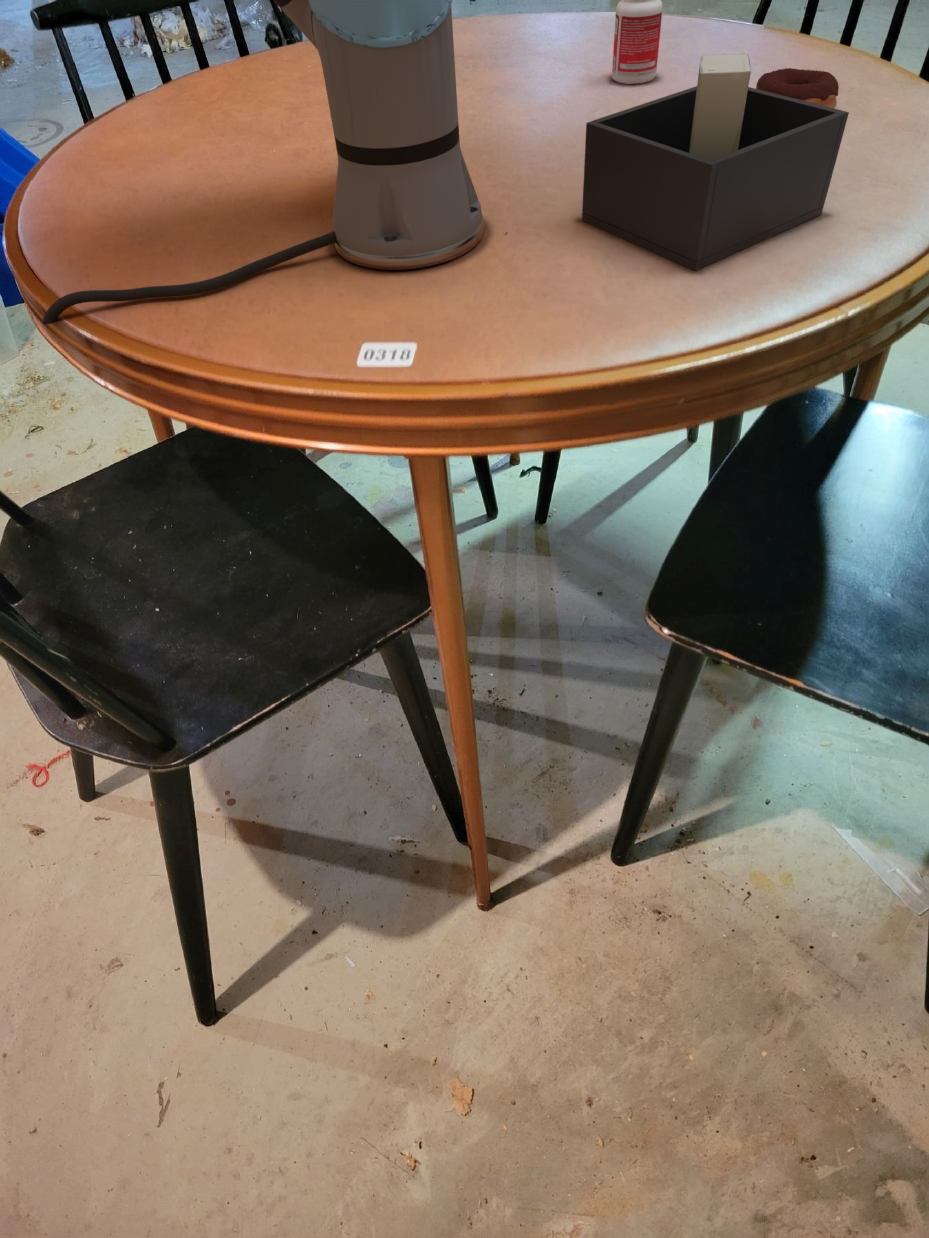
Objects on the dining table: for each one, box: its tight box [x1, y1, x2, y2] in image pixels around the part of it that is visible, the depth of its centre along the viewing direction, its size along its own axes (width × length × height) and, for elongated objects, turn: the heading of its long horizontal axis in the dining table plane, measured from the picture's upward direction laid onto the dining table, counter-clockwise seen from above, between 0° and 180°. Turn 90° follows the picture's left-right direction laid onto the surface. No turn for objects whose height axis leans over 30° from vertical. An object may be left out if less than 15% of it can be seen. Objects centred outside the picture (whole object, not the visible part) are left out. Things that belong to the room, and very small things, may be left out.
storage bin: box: [581, 85, 850, 272], centre depth 74 cm, size 18×16×9 cm
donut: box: [755, 67, 840, 109], centre depth 94 cm, size 10×10×4 cm
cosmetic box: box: [689, 53, 752, 161], centre depth 73 cm, size 6×4×12 cm
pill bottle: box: [611, 0, 664, 85], centre depth 105 cm, size 6×6×11 cm
